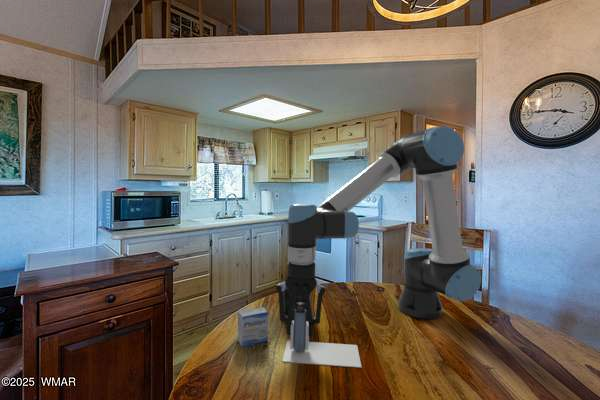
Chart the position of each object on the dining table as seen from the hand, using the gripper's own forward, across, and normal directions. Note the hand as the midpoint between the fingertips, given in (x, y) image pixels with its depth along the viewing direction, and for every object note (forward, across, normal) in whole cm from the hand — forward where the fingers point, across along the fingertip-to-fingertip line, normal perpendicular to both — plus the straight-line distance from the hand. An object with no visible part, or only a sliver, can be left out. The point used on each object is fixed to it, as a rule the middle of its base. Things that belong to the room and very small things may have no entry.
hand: (299, 346), depth 77 cm
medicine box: (+2, -14, +4) cm, 15 cm away
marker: (+1, 0, 0) cm, 1 cm away
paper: (+1, +6, 0) cm, 6 cm away
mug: (+2, -3, +19) cm, 19 cm away
